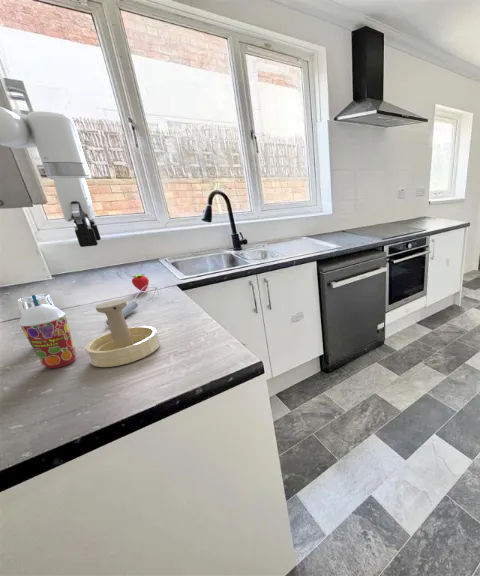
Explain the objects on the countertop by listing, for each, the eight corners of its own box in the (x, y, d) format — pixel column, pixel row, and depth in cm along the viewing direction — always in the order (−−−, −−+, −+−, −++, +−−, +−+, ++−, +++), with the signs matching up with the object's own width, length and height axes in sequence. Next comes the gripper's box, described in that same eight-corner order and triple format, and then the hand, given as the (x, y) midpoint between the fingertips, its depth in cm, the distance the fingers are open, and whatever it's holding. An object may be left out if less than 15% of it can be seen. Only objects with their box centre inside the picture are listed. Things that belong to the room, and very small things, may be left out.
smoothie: (34, 375, 79) (1, 303, 73) (45, 361, 86) (15, 294, 80) (78, 365, 84) (51, 296, 77) (84, 352, 90) (60, 287, 84)
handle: (110, 354, 88) (93, 305, 83) (137, 344, 93) (122, 298, 88) (115, 359, 85) (98, 309, 80) (143, 349, 90) (128, 301, 85)
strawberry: (137, 295, 136) (131, 274, 132) (133, 292, 140) (127, 271, 137) (153, 292, 140) (147, 271, 137) (149, 288, 145) (143, 268, 141)
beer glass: (39, 350, 92) (19, 303, 87) (32, 344, 95) (13, 299, 90) (70, 340, 97) (53, 296, 93) (63, 335, 101) (46, 292, 96)
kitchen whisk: (96, 330, 104) (90, 312, 102) (150, 296, 136) (147, 282, 134) (117, 328, 105) (111, 311, 103) (166, 295, 137) (162, 281, 135)
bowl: (88, 376, 79) (82, 359, 77) (94, 351, 91) (88, 336, 89) (161, 355, 88) (157, 340, 86) (158, 335, 100) (154, 321, 98)
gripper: (52, 172, 77) (76, 240, 83) (36, 170, 64) (65, 250, 70) (92, 173, 82) (112, 237, 87) (84, 170, 69) (108, 246, 74)
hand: (91, 243), depth 79 cm, fingers open, 9 cm apart
